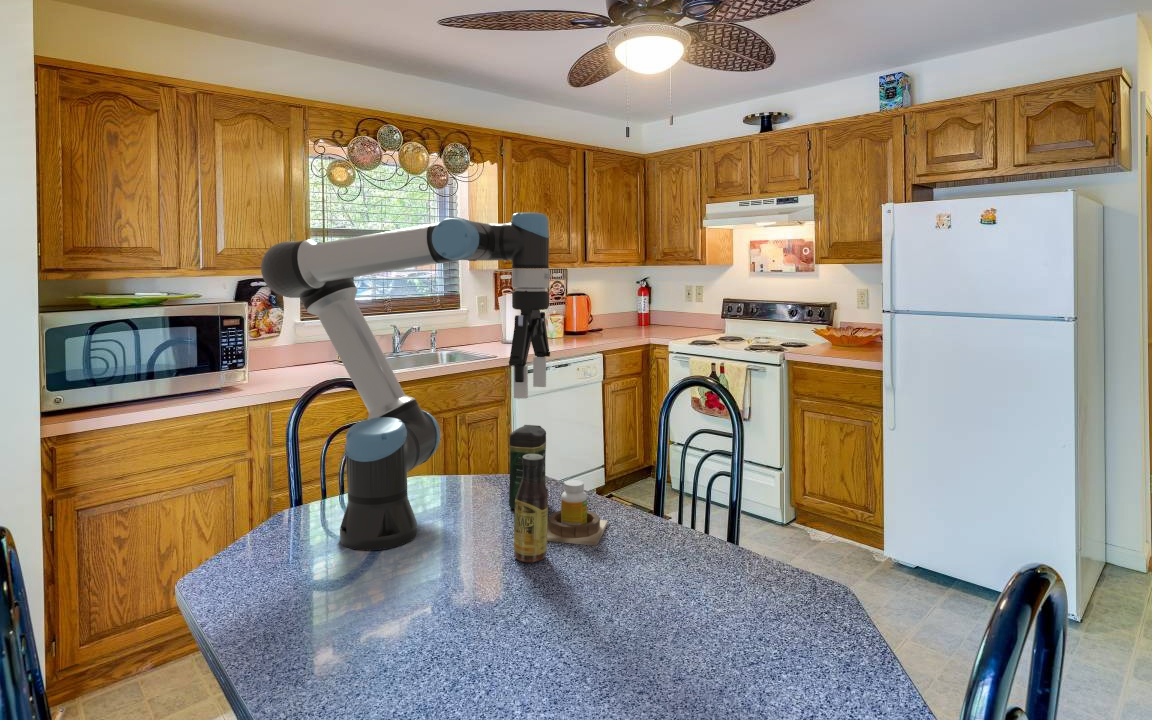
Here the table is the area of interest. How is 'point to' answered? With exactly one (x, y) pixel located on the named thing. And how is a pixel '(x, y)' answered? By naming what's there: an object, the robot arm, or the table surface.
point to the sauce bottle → (531, 512)
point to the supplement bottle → (574, 504)
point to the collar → (576, 530)
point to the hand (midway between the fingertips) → (530, 392)
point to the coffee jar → (520, 444)
